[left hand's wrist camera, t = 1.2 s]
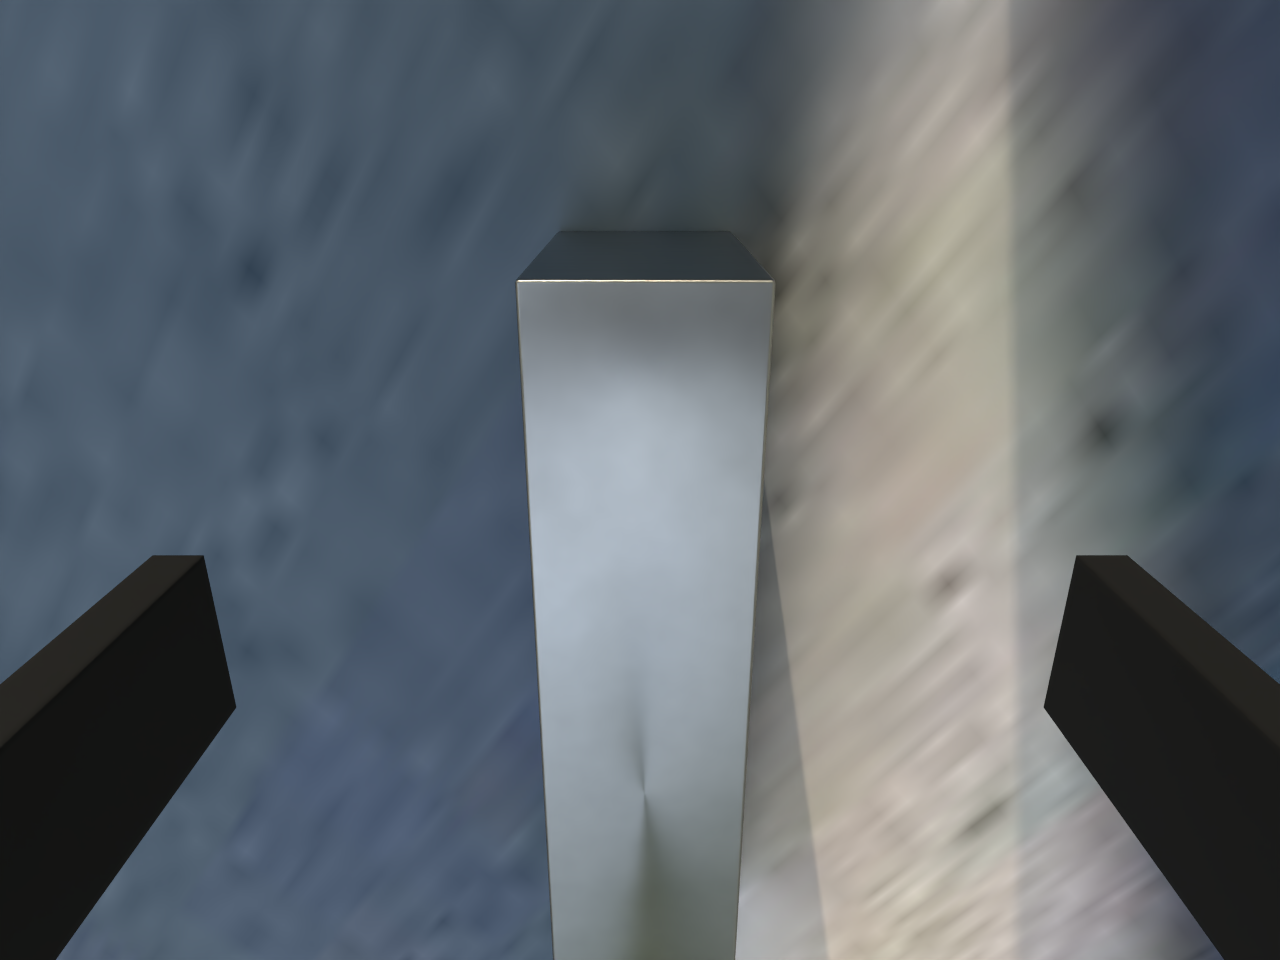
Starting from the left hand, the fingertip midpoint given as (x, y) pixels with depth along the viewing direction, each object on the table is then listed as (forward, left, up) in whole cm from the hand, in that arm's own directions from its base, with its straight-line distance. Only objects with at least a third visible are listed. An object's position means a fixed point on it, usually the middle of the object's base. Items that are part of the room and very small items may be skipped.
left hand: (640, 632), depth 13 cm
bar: (+6, +4, -13) cm, 15 cm away
